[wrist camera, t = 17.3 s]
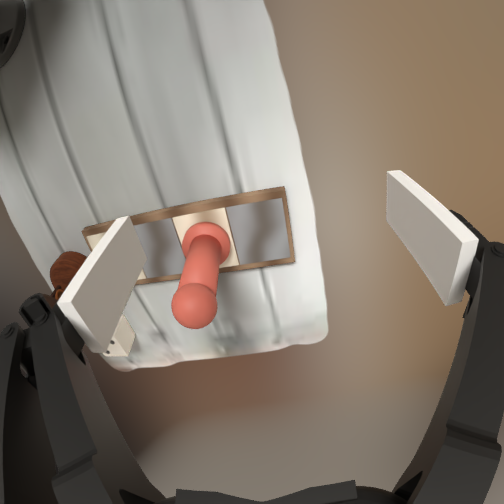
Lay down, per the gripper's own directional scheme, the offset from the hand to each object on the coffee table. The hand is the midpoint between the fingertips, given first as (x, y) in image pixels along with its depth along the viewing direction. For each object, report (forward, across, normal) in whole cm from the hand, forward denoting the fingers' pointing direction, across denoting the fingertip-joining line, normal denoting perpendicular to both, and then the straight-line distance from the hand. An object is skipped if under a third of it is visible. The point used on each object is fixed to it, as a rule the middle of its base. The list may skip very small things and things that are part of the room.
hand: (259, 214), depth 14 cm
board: (+26, -14, -15) cm, 34 cm away
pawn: (+25, -10, -15) cm, 31 cm away
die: (+26, -35, -32) cm, 54 cm away
